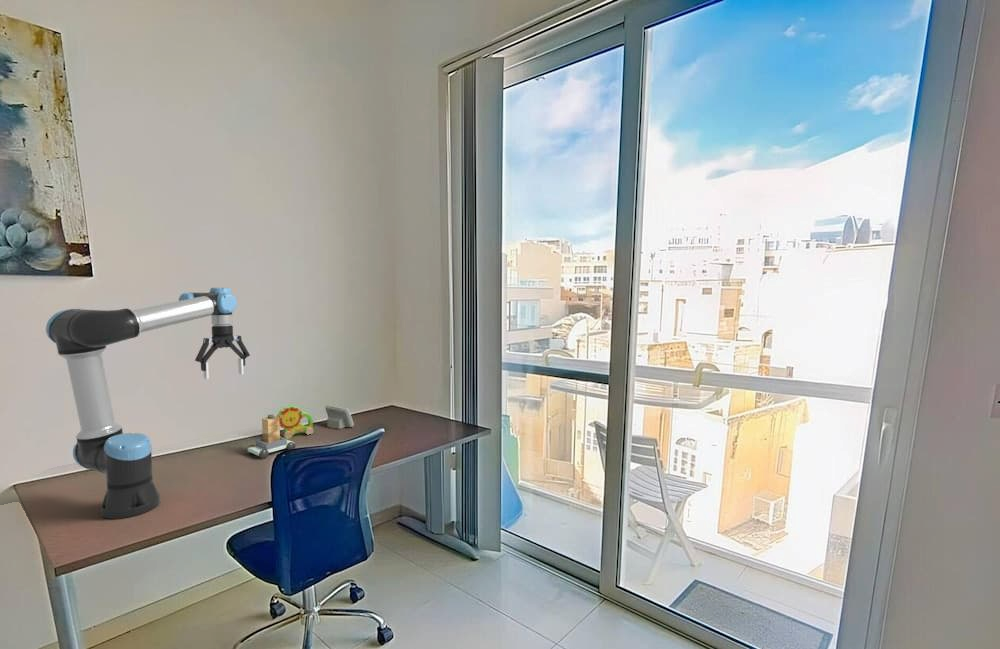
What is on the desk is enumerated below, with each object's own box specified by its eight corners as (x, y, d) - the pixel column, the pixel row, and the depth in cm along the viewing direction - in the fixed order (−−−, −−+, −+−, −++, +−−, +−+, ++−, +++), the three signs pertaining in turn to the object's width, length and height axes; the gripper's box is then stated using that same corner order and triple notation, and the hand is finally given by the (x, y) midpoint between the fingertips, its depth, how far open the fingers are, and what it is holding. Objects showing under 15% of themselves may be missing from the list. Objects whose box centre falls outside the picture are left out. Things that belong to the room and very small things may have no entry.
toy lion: (310, 431, 235) (310, 401, 234) (314, 434, 231) (313, 404, 229) (276, 438, 225) (275, 406, 224) (279, 441, 221) (278, 409, 220)
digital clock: (355, 427, 242) (355, 407, 241) (339, 431, 235) (339, 410, 234) (338, 421, 253) (337, 402, 252) (322, 425, 246) (322, 405, 245)
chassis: (259, 459, 197) (259, 446, 196) (246, 454, 203) (246, 441, 203) (295, 449, 209) (295, 437, 209) (282, 444, 216) (282, 432, 215)
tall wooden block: (268, 447, 203) (267, 417, 202) (262, 445, 205) (261, 415, 204) (280, 444, 207) (279, 415, 206) (274, 442, 210) (273, 413, 208)
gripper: (248, 322, 207) (250, 370, 208) (184, 326, 186) (186, 379, 188) (257, 323, 202) (258, 372, 204) (192, 327, 182) (194, 381, 184)
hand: (224, 376), depth 196 cm, fingers open, 13 cm apart
